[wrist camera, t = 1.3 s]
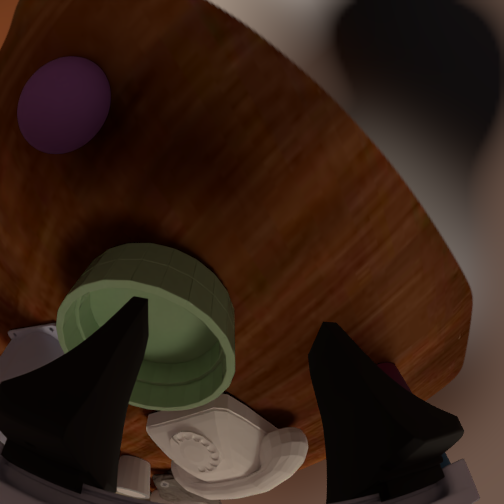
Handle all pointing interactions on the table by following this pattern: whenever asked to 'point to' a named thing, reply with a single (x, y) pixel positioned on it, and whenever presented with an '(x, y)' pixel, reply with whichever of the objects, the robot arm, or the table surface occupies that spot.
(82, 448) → the robot arm
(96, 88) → the purple ball
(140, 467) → the shot glass
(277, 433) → the telephone
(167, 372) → the sage bowl
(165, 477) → the grey rock
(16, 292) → the table surface
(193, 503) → the teapot
